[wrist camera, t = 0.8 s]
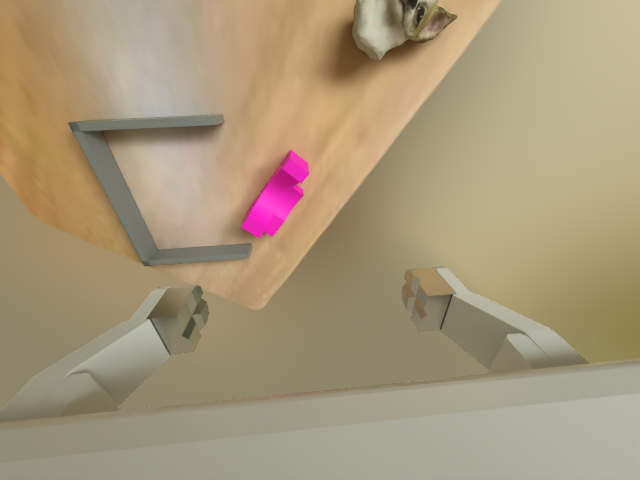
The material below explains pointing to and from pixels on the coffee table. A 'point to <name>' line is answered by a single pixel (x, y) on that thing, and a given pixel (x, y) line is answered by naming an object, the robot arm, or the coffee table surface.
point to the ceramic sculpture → (396, 23)
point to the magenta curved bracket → (277, 197)
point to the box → (123, 199)
